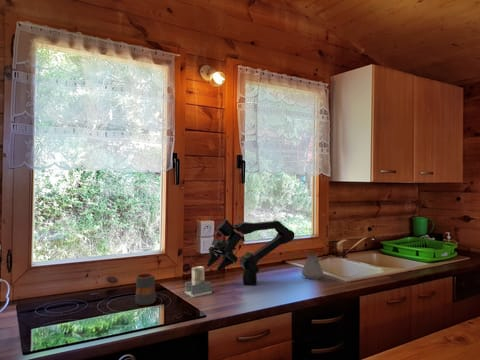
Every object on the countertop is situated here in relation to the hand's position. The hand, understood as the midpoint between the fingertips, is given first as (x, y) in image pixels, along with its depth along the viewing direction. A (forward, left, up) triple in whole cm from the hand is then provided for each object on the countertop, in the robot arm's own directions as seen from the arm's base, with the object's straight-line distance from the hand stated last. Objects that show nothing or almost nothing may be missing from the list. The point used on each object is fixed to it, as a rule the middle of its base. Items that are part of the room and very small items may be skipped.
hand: (212, 268), depth 181 cm
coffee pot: (-51, -25, -11) cm, 58 cm away
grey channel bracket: (+6, +6, -10) cm, 13 cm away
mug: (+26, +21, -11) cm, 34 cm away
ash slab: (+6, +6, -9) cm, 12 cm away
